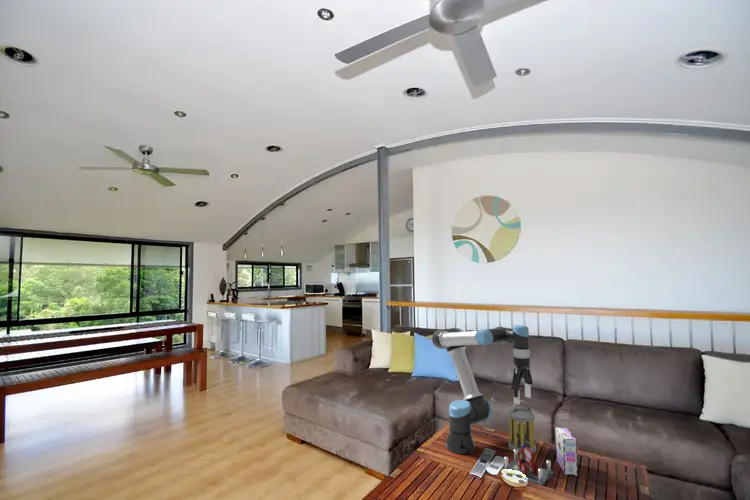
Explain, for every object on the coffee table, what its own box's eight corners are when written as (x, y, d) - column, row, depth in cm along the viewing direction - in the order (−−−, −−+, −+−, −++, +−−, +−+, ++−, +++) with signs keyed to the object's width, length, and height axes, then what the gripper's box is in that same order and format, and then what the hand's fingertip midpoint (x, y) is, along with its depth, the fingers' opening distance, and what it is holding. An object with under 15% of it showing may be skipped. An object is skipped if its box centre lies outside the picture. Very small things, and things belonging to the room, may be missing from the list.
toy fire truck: (528, 462, 180) (528, 440, 181) (541, 476, 168) (540, 452, 168) (514, 463, 180) (514, 441, 180) (526, 476, 167) (525, 453, 168)
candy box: (578, 476, 170) (576, 439, 171) (564, 475, 171) (563, 438, 172) (568, 461, 184) (567, 427, 185) (556, 460, 185) (554, 426, 186)
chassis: (503, 470, 175) (503, 457, 175) (514, 460, 184) (514, 448, 185) (542, 485, 163) (542, 471, 163) (552, 474, 172) (552, 460, 172)
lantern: (527, 441, 206) (525, 395, 208) (541, 453, 192) (540, 404, 194) (503, 442, 204) (502, 396, 206) (516, 455, 190) (515, 405, 192)
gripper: (518, 362, 173) (519, 408, 171) (538, 354, 191) (539, 396, 189) (503, 359, 178) (504, 404, 176) (523, 352, 196) (525, 393, 194)
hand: (522, 400), depth 183 cm, fingers open, 13 cm apart
